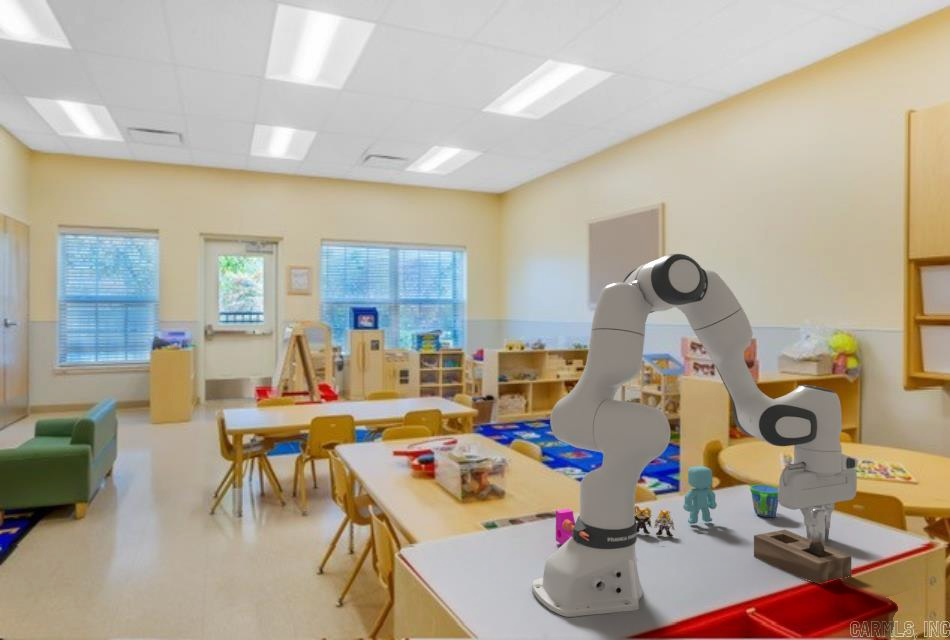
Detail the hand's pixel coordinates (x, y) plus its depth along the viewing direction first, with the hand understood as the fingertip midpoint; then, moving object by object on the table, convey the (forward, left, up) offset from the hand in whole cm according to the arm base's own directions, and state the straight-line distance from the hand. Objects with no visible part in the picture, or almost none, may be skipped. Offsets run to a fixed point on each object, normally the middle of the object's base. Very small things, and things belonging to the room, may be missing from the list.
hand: (817, 523), depth 120 cm
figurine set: (-19, +34, -12) cm, 41 cm away
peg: (0, 0, -6) cm, 6 cm away
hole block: (0, +4, -11) cm, 12 cm away
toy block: (-40, +30, -12) cm, 51 cm away
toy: (0, +34, -11) cm, 36 cm away
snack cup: (+22, +32, -11) cm, 40 cm away
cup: (+19, +14, -11) cm, 26 cm away
